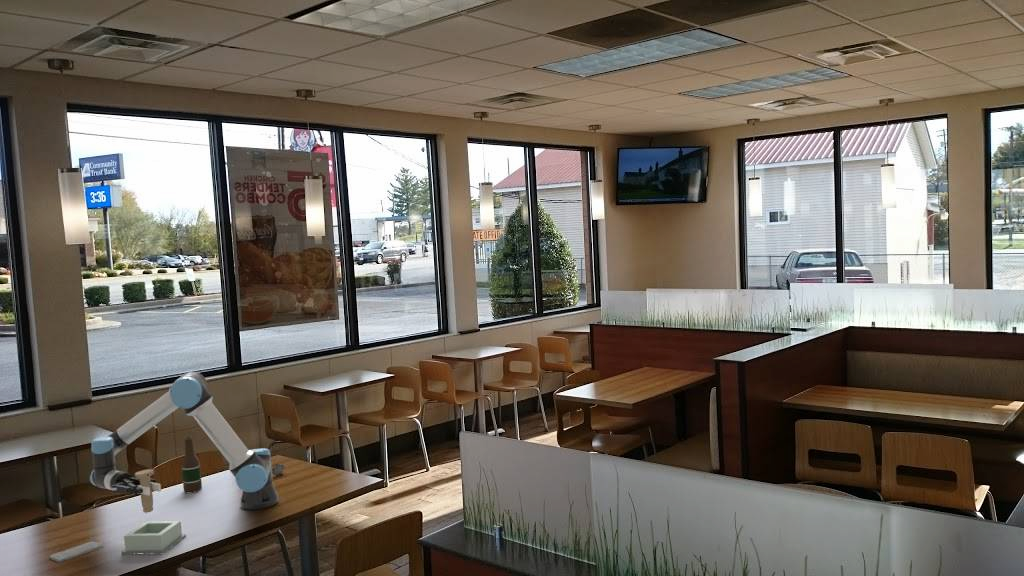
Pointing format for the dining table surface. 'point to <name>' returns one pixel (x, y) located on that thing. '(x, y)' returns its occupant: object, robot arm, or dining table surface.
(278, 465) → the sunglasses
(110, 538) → the dining table surface
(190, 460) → the beer bottle
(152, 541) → the holder
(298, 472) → the dining table surface
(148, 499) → the handle
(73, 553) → the phone
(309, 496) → the dining table surface
